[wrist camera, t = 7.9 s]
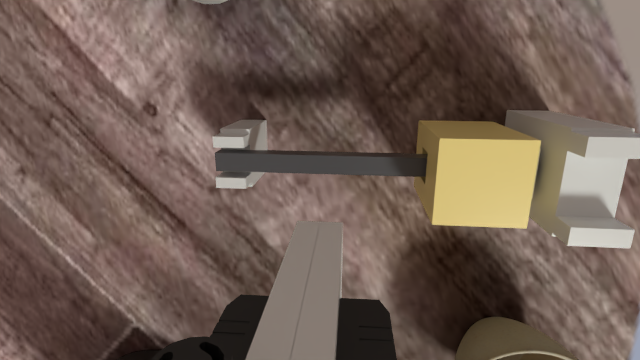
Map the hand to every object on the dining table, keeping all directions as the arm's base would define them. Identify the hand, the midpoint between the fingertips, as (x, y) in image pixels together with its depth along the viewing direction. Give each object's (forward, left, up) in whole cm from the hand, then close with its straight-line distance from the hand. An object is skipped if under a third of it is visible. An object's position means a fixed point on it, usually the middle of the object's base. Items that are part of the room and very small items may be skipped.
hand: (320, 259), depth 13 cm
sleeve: (+8, 0, -16) cm, 18 cm away
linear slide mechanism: (+3, 0, -18) cm, 19 cm away
